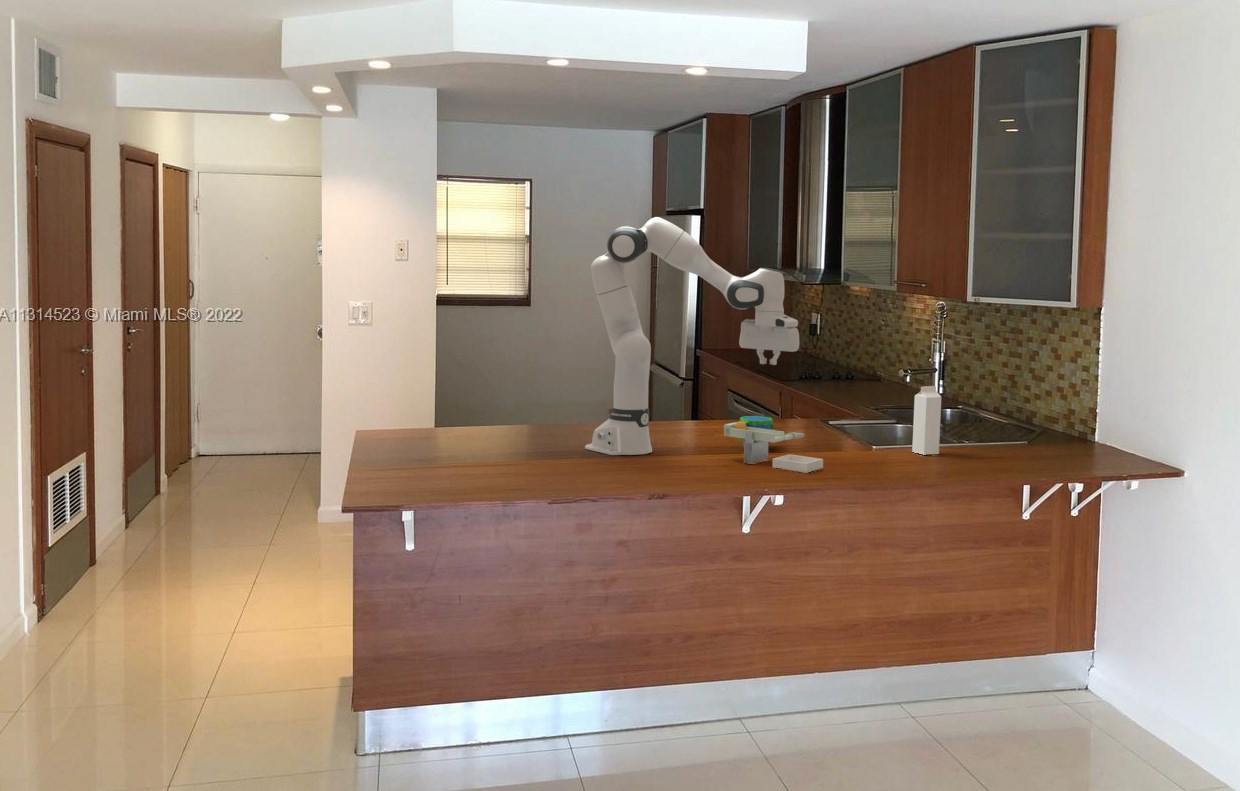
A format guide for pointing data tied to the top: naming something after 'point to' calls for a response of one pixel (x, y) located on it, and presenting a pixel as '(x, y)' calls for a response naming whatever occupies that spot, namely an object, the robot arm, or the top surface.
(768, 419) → the snack cup
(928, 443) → the milk
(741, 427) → the ball
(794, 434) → the lever
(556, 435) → the top surface
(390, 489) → the top surface
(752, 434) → the stand
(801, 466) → the white flat rimmed tray
